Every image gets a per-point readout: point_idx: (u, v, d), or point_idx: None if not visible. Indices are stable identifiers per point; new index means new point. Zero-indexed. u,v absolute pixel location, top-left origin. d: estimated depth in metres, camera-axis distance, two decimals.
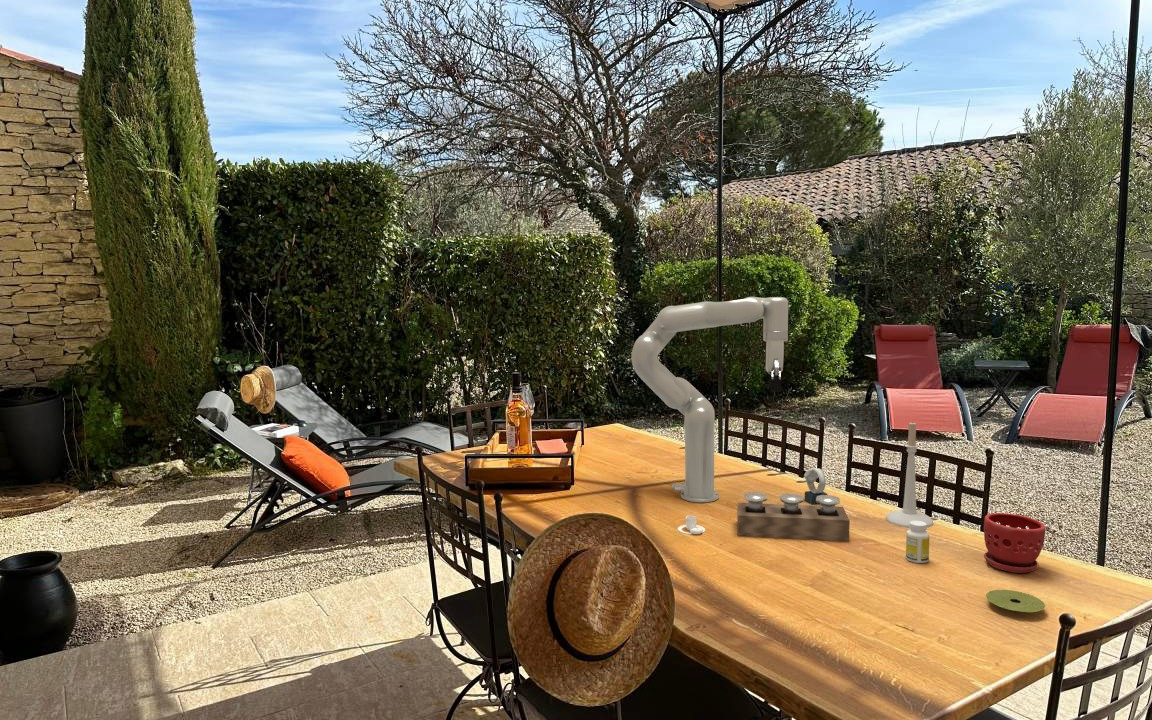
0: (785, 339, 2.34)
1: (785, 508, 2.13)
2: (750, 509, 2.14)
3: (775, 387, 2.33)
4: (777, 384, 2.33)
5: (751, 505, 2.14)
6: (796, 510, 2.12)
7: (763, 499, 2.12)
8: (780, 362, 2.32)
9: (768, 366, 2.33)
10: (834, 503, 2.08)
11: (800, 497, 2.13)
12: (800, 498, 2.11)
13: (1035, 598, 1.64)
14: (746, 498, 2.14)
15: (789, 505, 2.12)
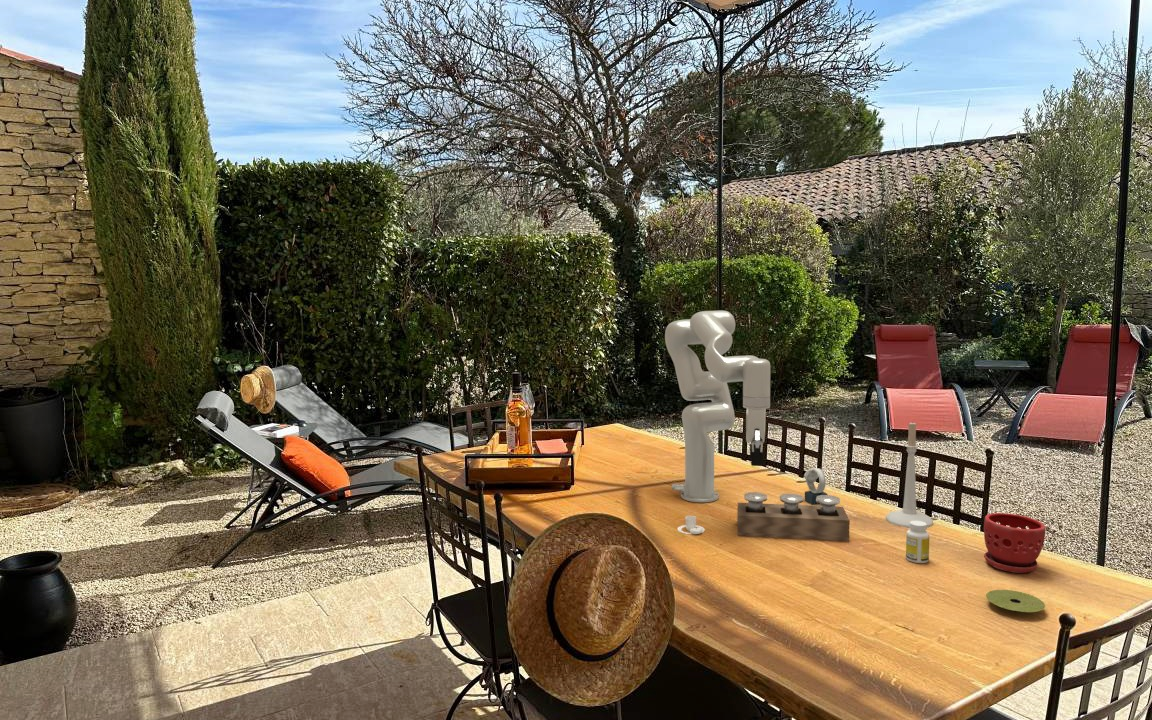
0: (767, 406, 2.09)
1: (785, 508, 2.13)
2: (750, 509, 2.14)
3: (756, 461, 2.08)
4: (758, 458, 2.08)
5: (751, 505, 2.14)
6: (796, 510, 2.12)
7: (763, 499, 2.12)
8: (761, 432, 2.08)
9: (748, 437, 2.09)
10: (834, 503, 2.08)
11: (800, 497, 2.13)
12: (800, 498, 2.11)
13: (1035, 598, 1.64)
14: (746, 498, 2.14)
15: (789, 505, 2.12)
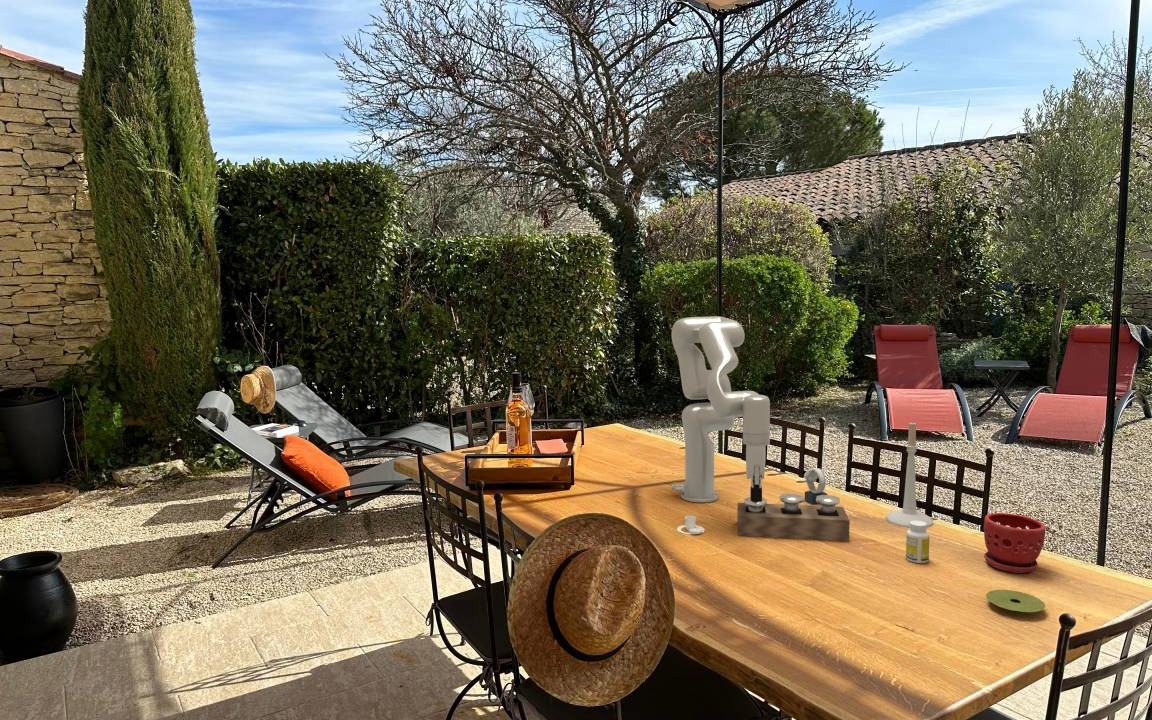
0: (767, 443, 2.10)
1: (785, 508, 2.13)
2: None
3: (755, 496, 2.13)
4: (757, 493, 2.13)
5: (751, 510, 2.14)
6: (796, 510, 2.12)
7: (763, 504, 2.12)
8: (761, 469, 2.09)
9: (748, 473, 2.10)
10: (834, 503, 2.08)
11: (800, 497, 2.13)
12: (800, 498, 2.11)
13: (1035, 598, 1.64)
14: (746, 503, 2.14)
15: (789, 505, 2.12)
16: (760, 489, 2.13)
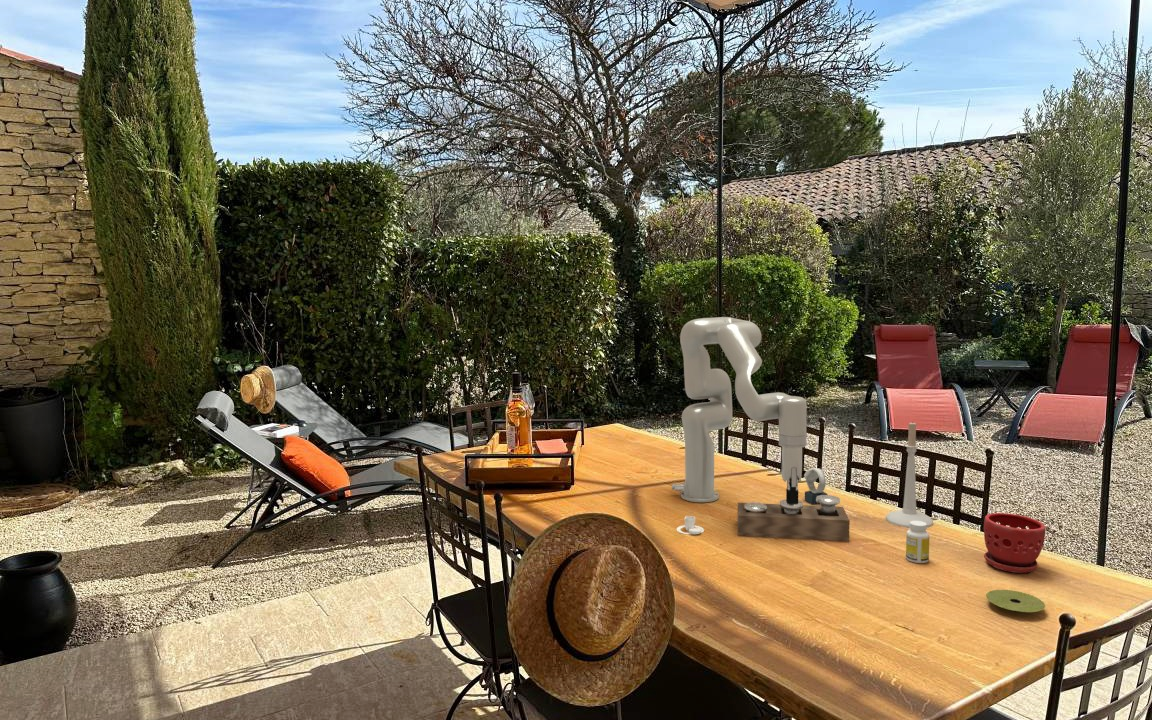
0: (804, 445, 2.08)
1: None
2: None
3: (792, 499, 2.11)
4: (794, 496, 2.11)
5: None
6: None
7: (763, 509, 2.13)
8: (798, 471, 2.07)
9: (785, 475, 2.08)
10: (834, 503, 2.08)
11: (800, 503, 2.13)
12: (800, 504, 2.12)
13: (1035, 598, 1.64)
14: (746, 508, 2.14)
15: (789, 510, 2.12)
16: (796, 491, 2.12)
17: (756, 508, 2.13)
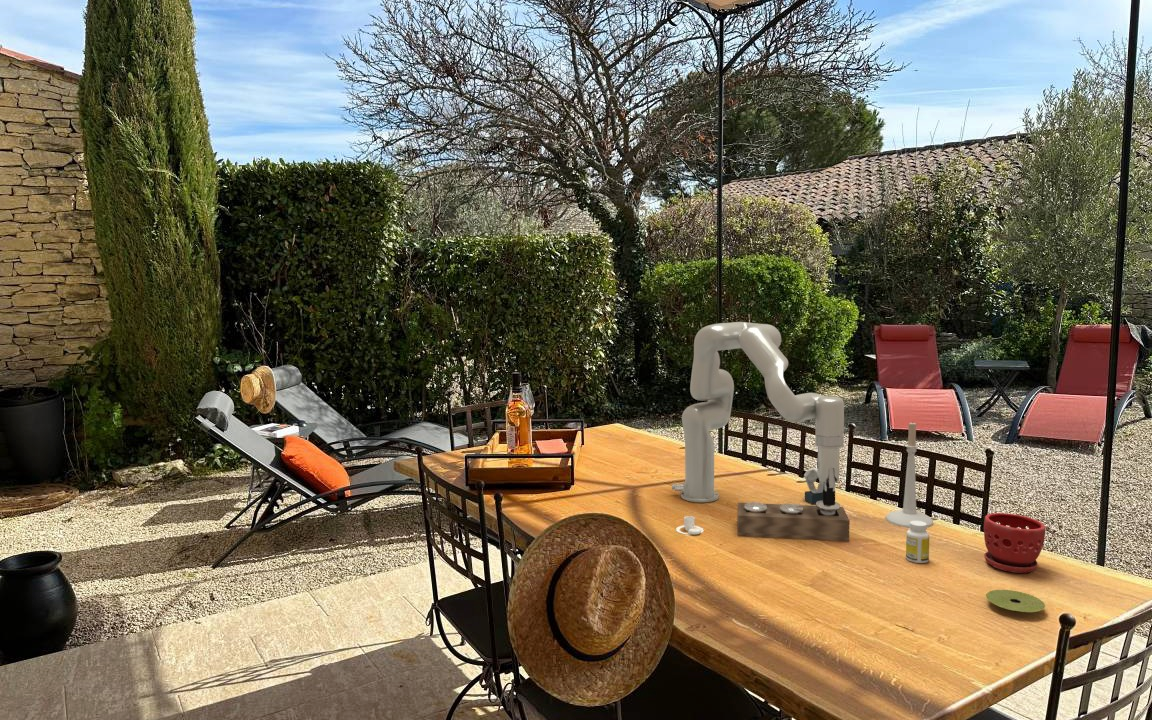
0: (841, 445, 2.06)
1: None
2: None
3: (828, 500, 2.09)
4: (831, 497, 2.09)
5: None
6: None
7: (763, 509, 2.13)
8: (836, 472, 2.05)
9: (822, 476, 2.06)
10: (834, 509, 2.08)
11: (800, 507, 2.13)
12: (800, 508, 2.12)
13: (1035, 598, 1.64)
14: (746, 508, 2.14)
15: None
16: (833, 492, 2.10)
17: (756, 508, 2.13)
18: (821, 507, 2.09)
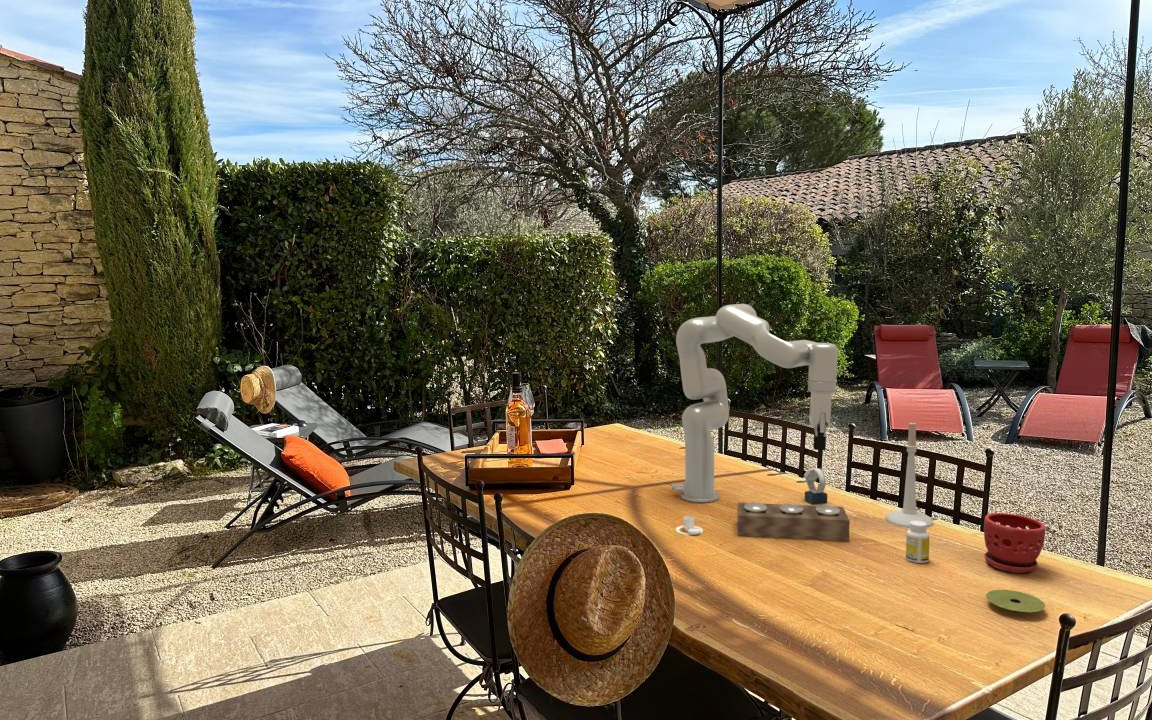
0: (833, 391, 2.09)
1: None
2: None
3: (819, 445, 2.12)
4: (821, 442, 2.12)
5: None
6: None
7: (763, 509, 2.13)
8: (827, 417, 2.07)
9: (813, 421, 2.09)
10: (834, 514, 2.08)
11: (800, 507, 2.13)
12: (800, 508, 2.12)
13: (1035, 598, 1.64)
14: (746, 508, 2.14)
15: None
16: (824, 438, 2.12)
17: (756, 508, 2.13)
18: (821, 512, 2.09)
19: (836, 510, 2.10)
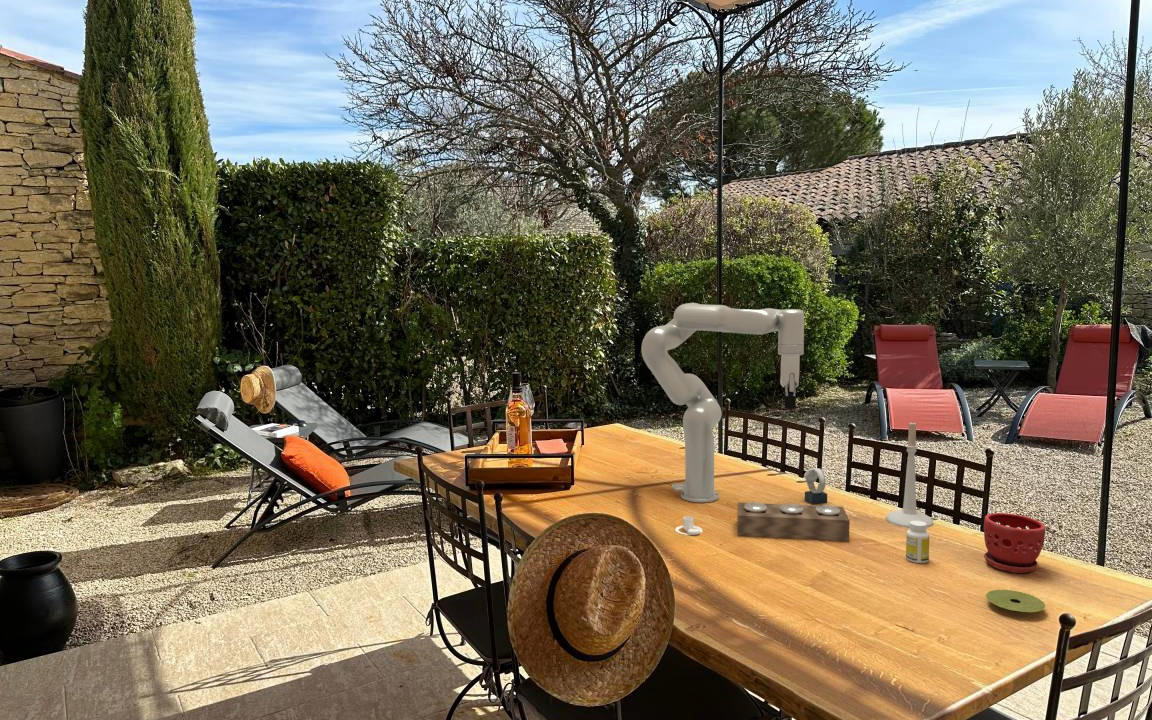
0: (801, 353, 2.26)
1: None
2: None
3: (789, 404, 2.29)
4: (791, 401, 2.29)
5: None
6: None
7: (763, 509, 2.13)
8: (796, 377, 2.24)
9: (783, 381, 2.25)
10: (834, 514, 2.08)
11: (800, 507, 2.13)
12: (800, 508, 2.12)
13: (1035, 598, 1.64)
14: (746, 508, 2.14)
15: None
16: (794, 397, 2.29)
17: (756, 508, 2.13)
18: (821, 512, 2.09)
19: (836, 510, 2.10)
